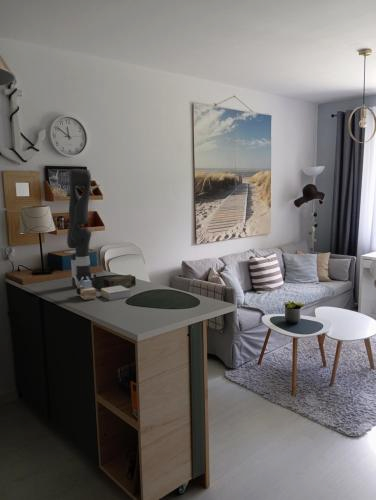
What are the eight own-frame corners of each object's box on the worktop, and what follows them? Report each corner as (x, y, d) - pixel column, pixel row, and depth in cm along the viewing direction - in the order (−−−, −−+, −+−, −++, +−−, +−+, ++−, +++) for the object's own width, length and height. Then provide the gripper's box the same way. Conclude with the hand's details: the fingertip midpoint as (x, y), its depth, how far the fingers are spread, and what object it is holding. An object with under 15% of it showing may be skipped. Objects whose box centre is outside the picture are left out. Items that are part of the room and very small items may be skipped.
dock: (101, 295, 228) (100, 288, 227) (120, 292, 234) (120, 285, 234) (110, 300, 217) (109, 292, 217) (130, 296, 224) (130, 289, 223)
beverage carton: (136, 285, 251) (136, 275, 250) (108, 291, 239) (107, 280, 238) (130, 283, 257) (129, 273, 256) (102, 288, 245) (101, 278, 244)
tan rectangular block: (76, 294, 228) (76, 285, 228) (87, 292, 232) (86, 284, 231) (85, 299, 217) (84, 290, 216) (96, 298, 220) (95, 289, 219)
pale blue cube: (82, 287, 223) (81, 280, 222) (89, 286, 225) (88, 279, 225) (84, 289, 220) (84, 281, 219) (91, 287, 222) (91, 280, 221)
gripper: (93, 261, 230) (94, 290, 233) (67, 264, 223) (69, 294, 225) (97, 263, 224) (99, 293, 227) (72, 266, 217) (73, 297, 219)
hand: (84, 293), depth 226 cm, fingers closed on tan rectangular block, 6 cm apart
